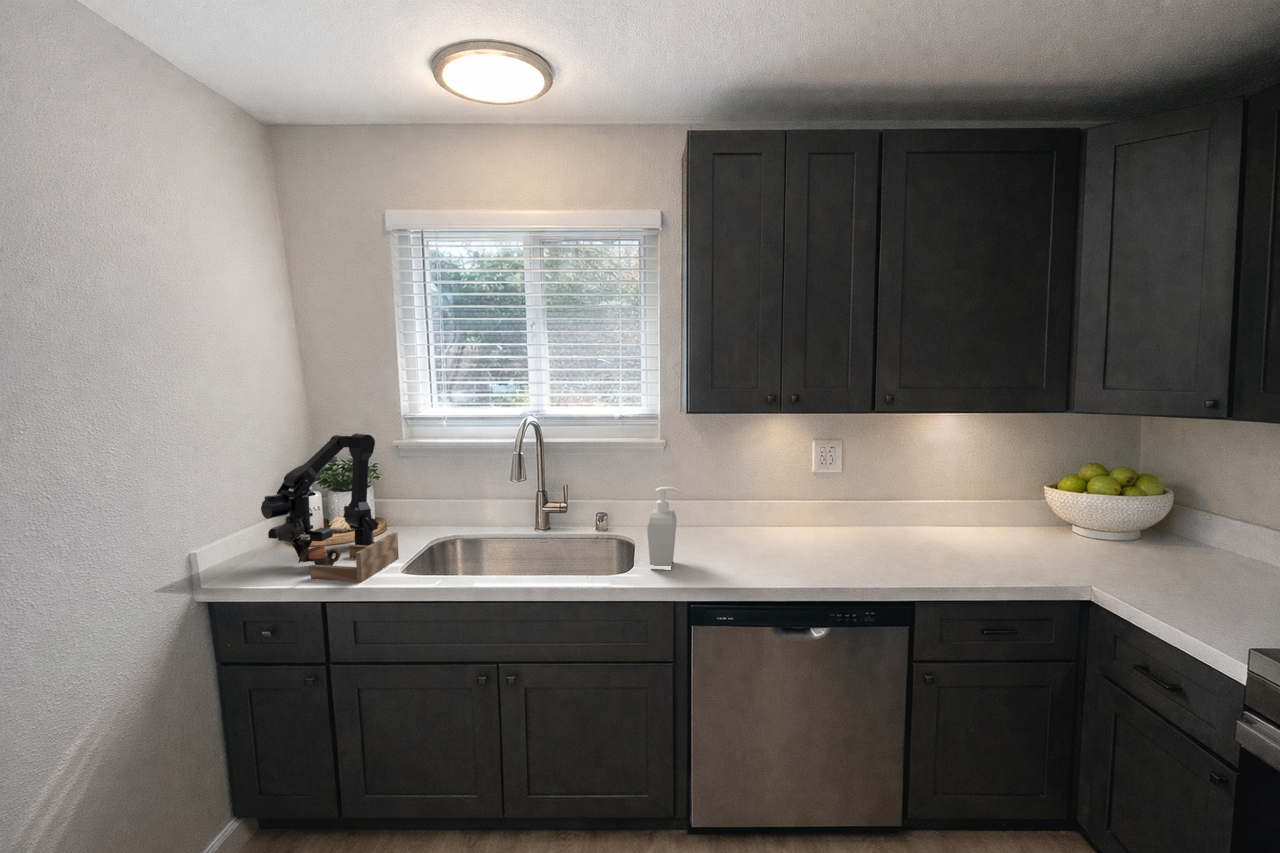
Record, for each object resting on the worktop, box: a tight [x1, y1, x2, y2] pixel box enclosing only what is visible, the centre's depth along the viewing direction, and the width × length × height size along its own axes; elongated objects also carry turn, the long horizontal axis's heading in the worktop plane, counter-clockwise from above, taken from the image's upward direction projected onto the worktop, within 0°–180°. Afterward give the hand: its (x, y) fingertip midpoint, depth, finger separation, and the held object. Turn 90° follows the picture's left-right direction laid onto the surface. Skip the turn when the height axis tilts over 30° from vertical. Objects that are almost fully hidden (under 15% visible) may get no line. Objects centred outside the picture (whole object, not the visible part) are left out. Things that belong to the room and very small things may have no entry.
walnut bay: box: [309, 531, 400, 583], centre depth 195 cm, size 21×16×9 cm
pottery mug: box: [297, 545, 342, 572], centre depth 195 cm, size 12×10×8 cm
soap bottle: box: [646, 486, 682, 567], centre depth 198 cm, size 12×10×26 cm
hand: (301, 559), depth 198 cm, fingers closed
